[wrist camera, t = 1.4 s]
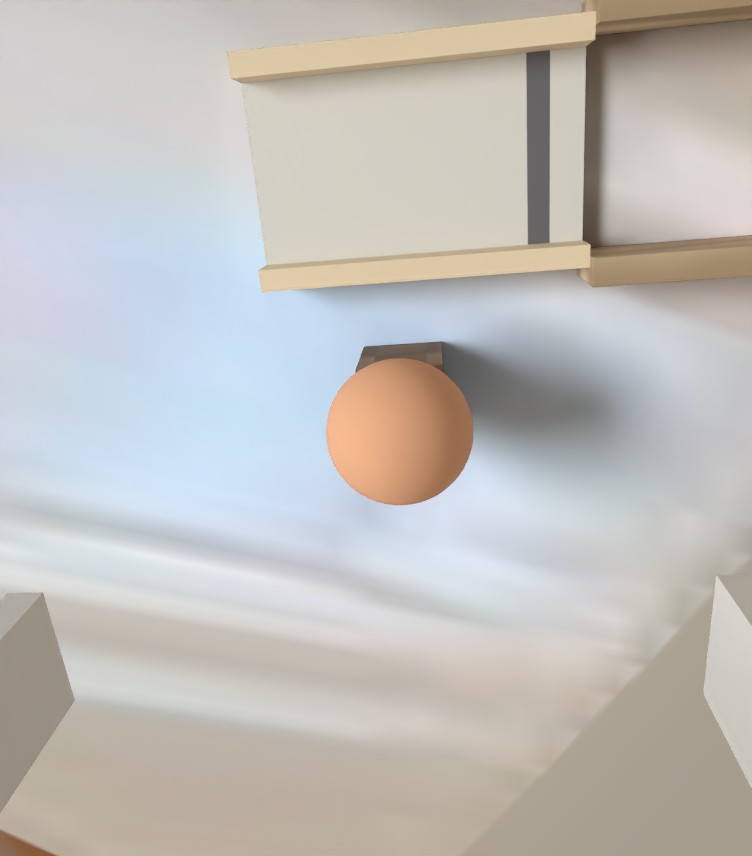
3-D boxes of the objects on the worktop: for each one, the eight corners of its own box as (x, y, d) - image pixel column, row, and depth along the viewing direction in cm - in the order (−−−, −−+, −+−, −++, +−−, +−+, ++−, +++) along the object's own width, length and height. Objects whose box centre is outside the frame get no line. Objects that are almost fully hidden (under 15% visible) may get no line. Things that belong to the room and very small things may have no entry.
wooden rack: (582, 3, 24) (601, -16, 21) (861, -28, 23) (917, -52, 20) (577, 275, 27) (593, 287, 24) (821, 256, 26) (865, 267, 23)
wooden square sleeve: (364, 347, 29) (355, 370, 25) (441, 341, 28) (442, 365, 25) (370, 419, 30) (363, 450, 26) (445, 415, 29) (447, 446, 26)
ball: (329, 346, 25) (306, 388, 21) (466, 337, 25) (475, 378, 20) (343, 471, 27) (325, 535, 22) (471, 464, 27) (480, 529, 22)
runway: (243, 60, 25) (227, 52, 23) (581, 23, 24) (595, 11, 22) (274, 282, 28) (261, 292, 26) (577, 259, 27) (589, 267, 25)
